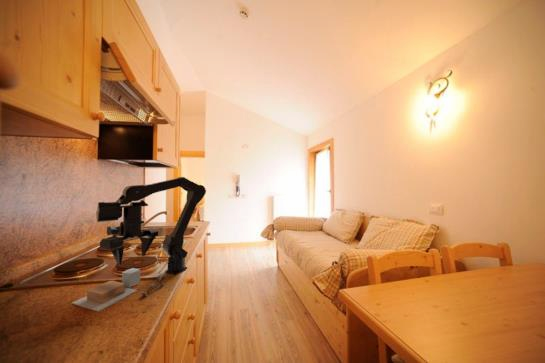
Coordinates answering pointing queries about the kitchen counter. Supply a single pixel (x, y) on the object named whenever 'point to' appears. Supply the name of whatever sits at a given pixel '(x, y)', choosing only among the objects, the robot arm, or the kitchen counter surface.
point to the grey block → (131, 277)
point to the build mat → (98, 307)
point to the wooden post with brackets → (153, 285)
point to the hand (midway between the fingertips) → (131, 260)
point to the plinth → (105, 292)
